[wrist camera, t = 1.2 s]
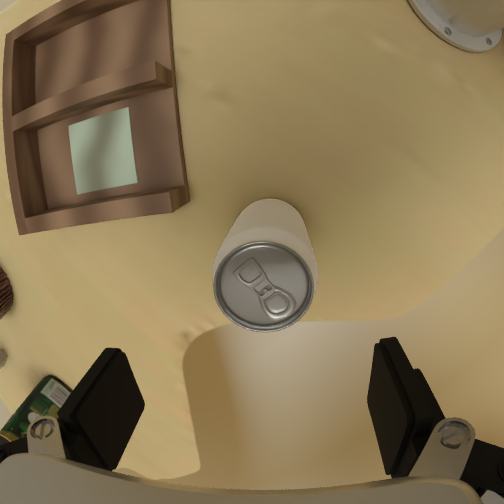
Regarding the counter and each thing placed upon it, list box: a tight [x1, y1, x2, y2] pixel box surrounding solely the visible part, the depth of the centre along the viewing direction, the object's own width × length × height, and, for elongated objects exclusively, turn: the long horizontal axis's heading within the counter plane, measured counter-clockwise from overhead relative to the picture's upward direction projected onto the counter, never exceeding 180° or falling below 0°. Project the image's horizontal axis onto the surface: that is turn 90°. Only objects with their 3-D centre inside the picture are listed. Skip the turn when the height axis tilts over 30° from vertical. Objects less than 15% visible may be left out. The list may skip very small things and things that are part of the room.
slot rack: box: [2, 0, 190, 235], centre depth 23 cm, size 18×23×5 cm
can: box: [212, 199, 318, 332], centre depth 23 cm, size 6×6×12 cm
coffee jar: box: [0, 376, 72, 445], centre depth 32 cm, size 10×8×19 cm
